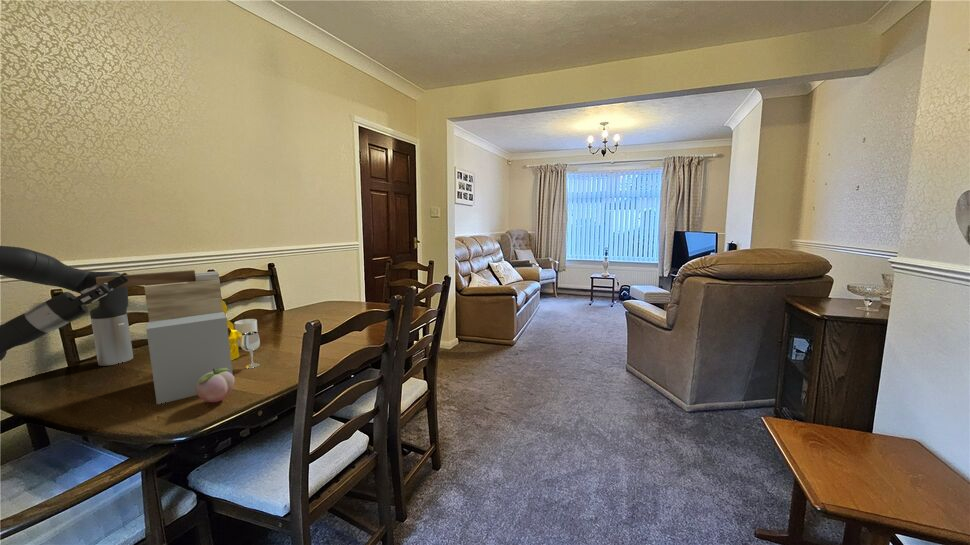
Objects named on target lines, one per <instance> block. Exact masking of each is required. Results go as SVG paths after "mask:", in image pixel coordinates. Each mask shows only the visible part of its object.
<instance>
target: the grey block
mask: <svg viewBox="0 0 970 545" xmlns="http://www.w3.org/2000/svg"><path fill="white" fill-rule="evenodd" d="M227 319H228V318H227V314H226V315H225V313H224V312H220V313H213V314H205V315H198V316H190V317H182V318H175V319H167V320H160V321H152V322H149V321H147V325H146V328H145V329H146V336H147V337H146V338H147V343H148V350H149V351H148V352H149V358H150V365H151V372H152V379H153V385H154V386H153V388H154V393H155V394H154V395H155V399H156V400H155V401H156V405H157V404H158V405H161V403H162V404H166V403H169V402H174V401H178V400H182V399H186V398H191V397H195V396H198V394H197V392H196V389H195V387H196V383H197V381H198V380H199V379H200V378H201V377H202V376H203V375H205V374H207V373H209V372H213V369H215V370H217V369H220V368H228V369H230V370H226V371H227V372H230V373H231V374H232V375H233V376H234V374H233V365H232V364H233V363H232V361H231V354H230V345H229V336H228V326H227ZM165 402H166V403H165Z"/></svg>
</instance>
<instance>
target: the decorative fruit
mask: <svg viewBox="0 0 970 545" xmlns="http://www.w3.org/2000/svg"><path fill="white" fill-rule="evenodd" d="M226 370H230V369H228V368H220V369H217V370H215V369H213V372H209V373H207V374H205V375H203V376H202V377H201V378H200V379H199V380H198V381H197V383H196V387H195V389H196V392H197V394H198V395H197V396H198V397H199V398H200V399H201V400H203V401H205V402H206V403H207V402H208V403H219V402H220V401H221V402H222V400H224V399H225V398H226V397H228V395H229V394H230V393H231V392H232V390H233V387H235V383H236V378H235V376H234V374H233V375H232V374H231V373H230V372H227V371H226Z"/></svg>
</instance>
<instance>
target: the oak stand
mask: <svg viewBox="0 0 970 545" xmlns="http://www.w3.org/2000/svg"><path fill="white" fill-rule="evenodd" d="M221 290H222V289H221V281H220V279H219V280H212V281H201V282H196V281H189V282H178V283H166V284H154V285H144V294H145V301H146V307H147V315H148V322H152V321H160V320H167V319H175V318H182V317H190V316H198V315H205V314H213V313H220V312H223V307H222V301H223V299H222V298H223V297H222V292H221Z"/></svg>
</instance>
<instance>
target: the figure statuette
mask: <svg viewBox="0 0 970 545" xmlns="http://www.w3.org/2000/svg"><path fill="white" fill-rule="evenodd" d="M222 307H223V312H224V313H225V315H226V316H227V312H228V305H227V304H226V302H225V301H224V300H222ZM227 326H228V336H229V345H230V354H231V362H232V361H233V360H234V361H235V359H238V358H240V353H239V348H240V347H239V346H238V340H237V339H239V340H241V335H242V334H241V333H239V332H238V331H237V330H235V325H234V323H233V322H231V321H230V320H229V319H228V318H227Z"/></svg>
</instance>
